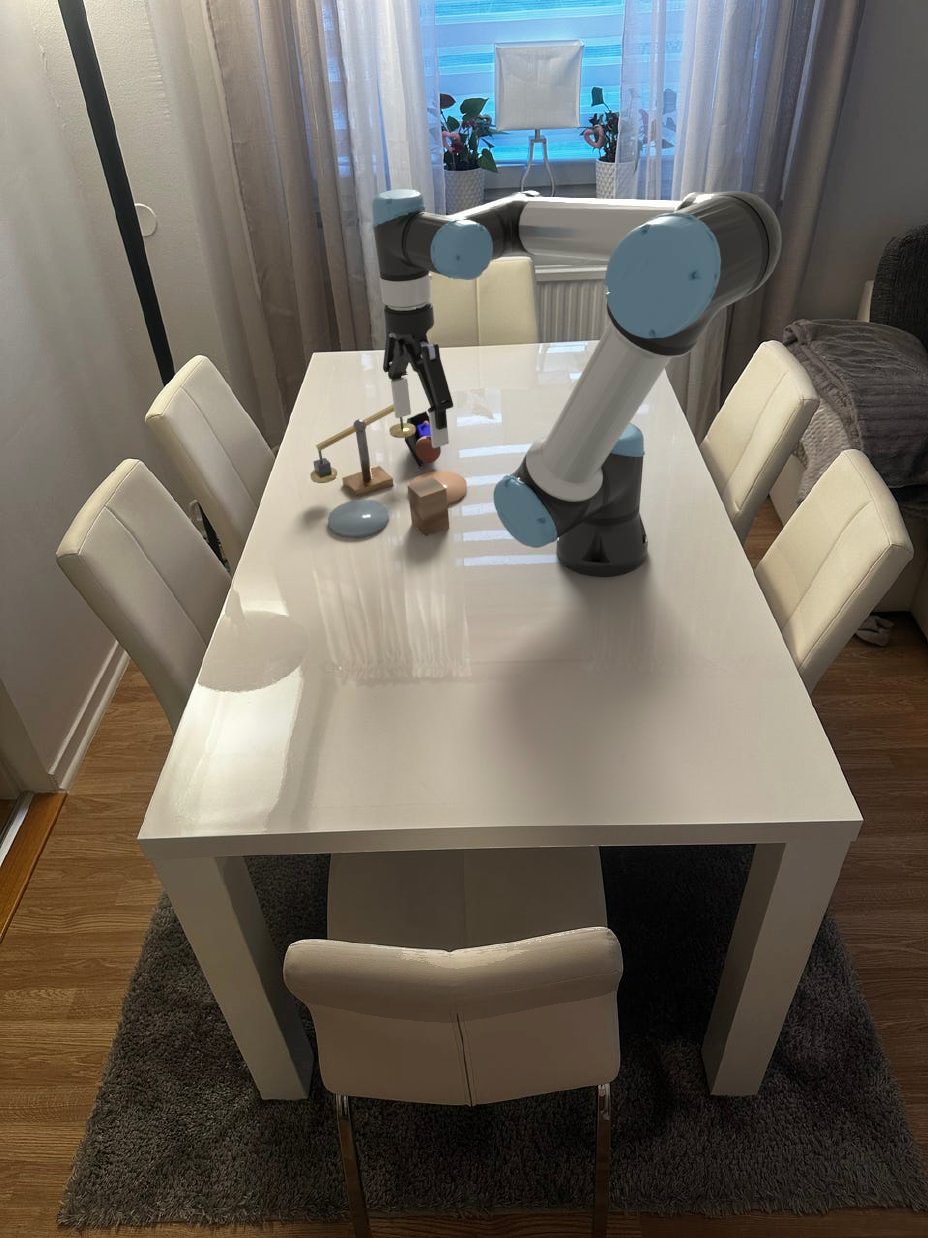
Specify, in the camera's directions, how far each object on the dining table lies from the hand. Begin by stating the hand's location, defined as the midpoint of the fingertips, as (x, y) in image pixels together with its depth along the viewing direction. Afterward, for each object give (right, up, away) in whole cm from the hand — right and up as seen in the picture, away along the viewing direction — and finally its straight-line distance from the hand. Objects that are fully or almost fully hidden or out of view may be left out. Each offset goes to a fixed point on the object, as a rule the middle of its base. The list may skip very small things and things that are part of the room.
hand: (421, 430), depth 149 cm
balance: (-11, -6, +24) cm, 27 cm away
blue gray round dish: (-12, -14, +14) cm, 23 cm away
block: (+1, -15, +11) cm, 19 cm away
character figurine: (-1, +2, +33) cm, 33 cm away
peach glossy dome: (+2, -7, +21) cm, 22 cm away
